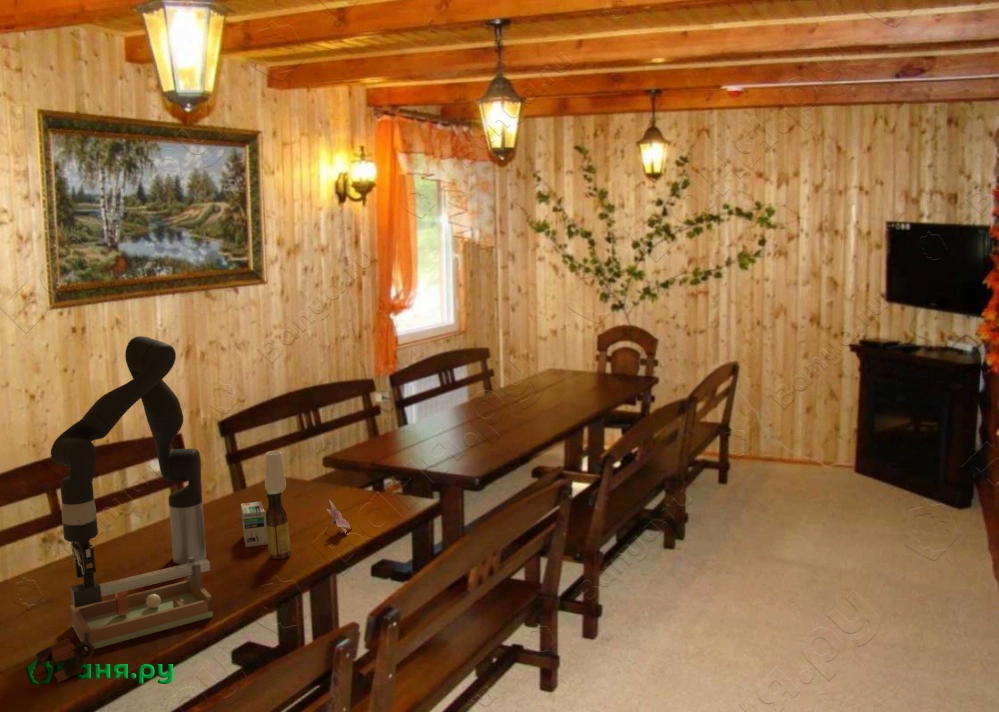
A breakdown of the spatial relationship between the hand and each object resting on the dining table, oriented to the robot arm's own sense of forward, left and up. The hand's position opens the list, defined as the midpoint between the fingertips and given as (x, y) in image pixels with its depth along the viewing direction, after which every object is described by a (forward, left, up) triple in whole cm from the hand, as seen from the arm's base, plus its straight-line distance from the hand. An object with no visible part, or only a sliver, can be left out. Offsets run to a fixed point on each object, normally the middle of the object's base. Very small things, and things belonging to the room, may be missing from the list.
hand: (85, 582), depth 224 cm
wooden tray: (+3, +12, -13) cm, 18 cm away
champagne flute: (-43, +66, -13) cm, 80 cm away
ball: (0, +15, -9) cm, 18 cm away
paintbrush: (0, +13, -10) cm, 17 cm away
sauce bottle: (-17, +56, -13) cm, 60 cm away
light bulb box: (-34, +55, -13) cm, 66 cm away
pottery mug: (+18, -9, -13) cm, 24 cm away
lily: (-24, +78, -13) cm, 83 cm away
